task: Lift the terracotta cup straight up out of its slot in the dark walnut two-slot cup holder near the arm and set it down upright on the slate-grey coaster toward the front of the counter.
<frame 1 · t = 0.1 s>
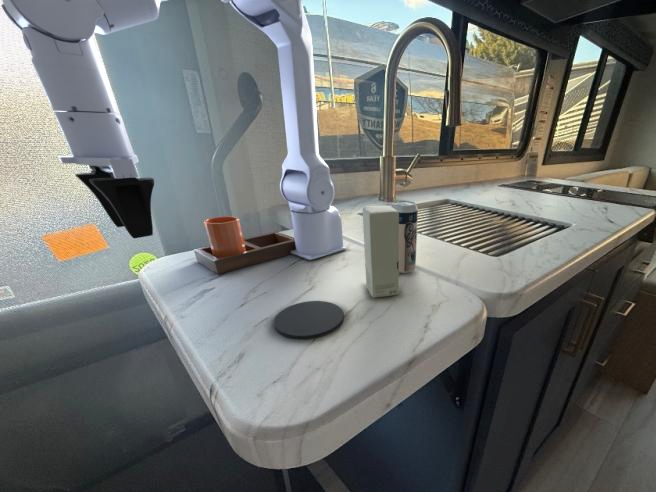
hand: (134, 230, 42), 10 cm above the table, tool pointing down, fingers open, 7 cm apart
box: (381, 291, 50), on the table
cup: (232, 261, 60), resting in cup holder
coaster: (310, 319, 42), on the table
beer can: (402, 270, 58), on the table
cup holder: (252, 256, 63), on the table
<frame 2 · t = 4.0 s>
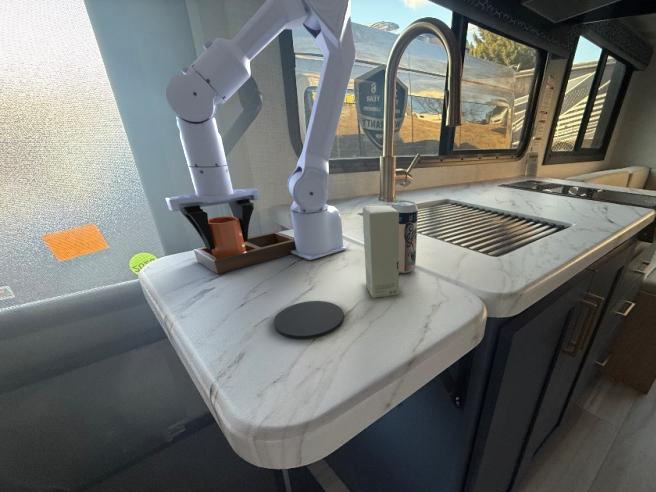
hand: (227, 244, 59), 3 cm above the table, tool pointing down, fingers closed on cup, 5 cm apart
cup: (232, 261, 60), resting in cup holder, touching gripper
everything else where it was.
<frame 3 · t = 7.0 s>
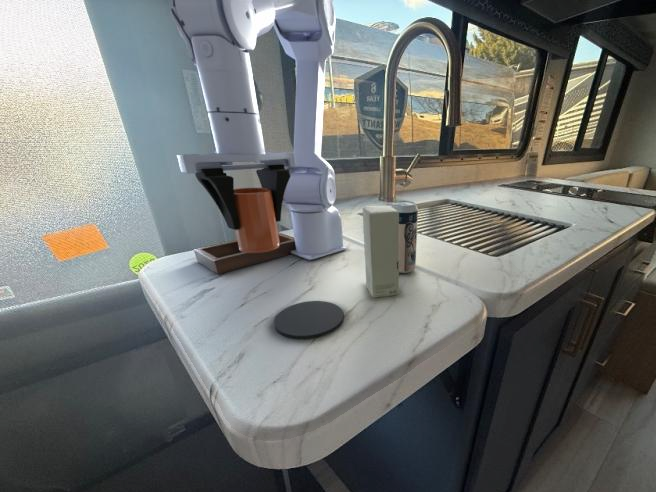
hand: (255, 224, 45), 10 cm above the table, tool pointing down, fingers closed on cup, 5 cm apart
cup: (259, 246, 46), point 7 cm above the table, touching gripper
everything else where it was.
when the fingers open (4 cm above the table, at t = 10.1 s): cup stays where it is, resting on coaster.
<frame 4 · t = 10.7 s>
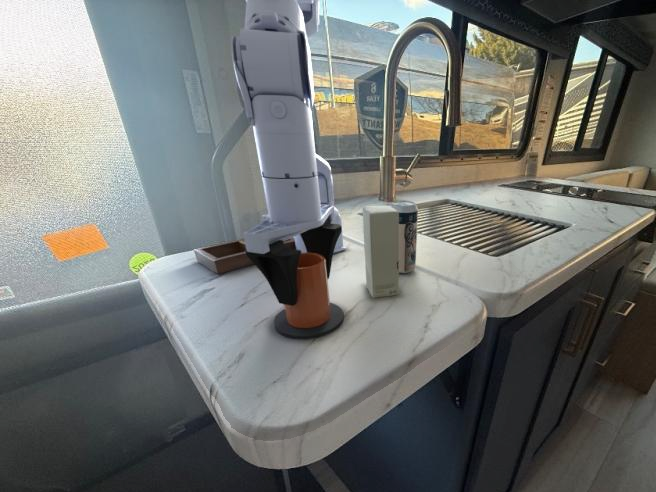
hand: (305, 289, 40), 4 cm above the table, tool pointing down, fingers open, 7 cm apart
cup: (309, 316, 42), resting on coaster
everything else where it was.
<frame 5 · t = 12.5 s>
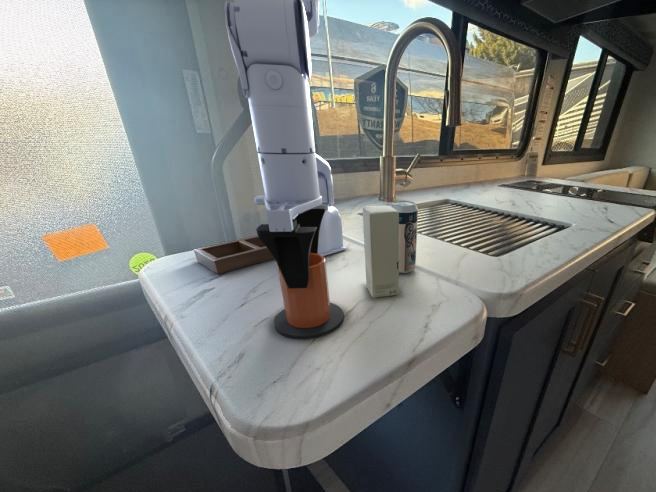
hand: (303, 273, 39), 7 cm above the table, tool pointing down, fingers open, 7 cm apart
nothing on the table moved.
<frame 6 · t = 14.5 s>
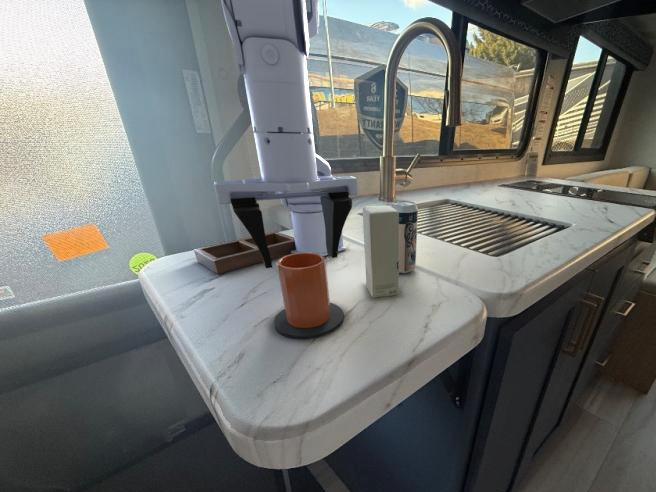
hand: (301, 260, 38), 8 cm above the table, tool pointing down, fingers open, 7 cm apart
nothing on the table moved.
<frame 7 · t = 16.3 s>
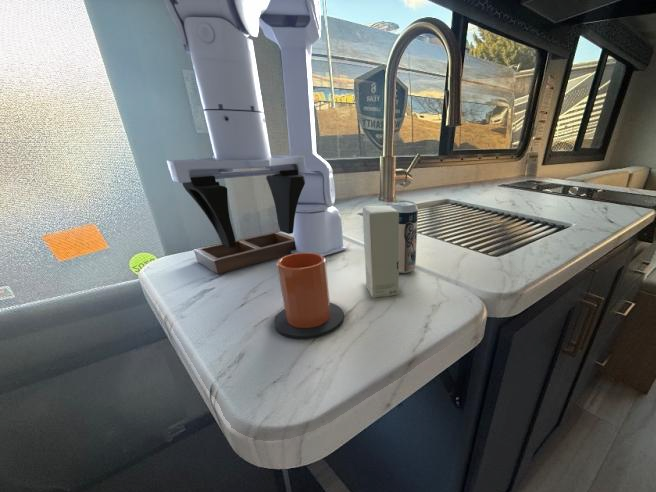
hand: (259, 238, 39), 10 cm above the table, tool pointing down, fingers open, 7 cm apart
nothing on the table moved.
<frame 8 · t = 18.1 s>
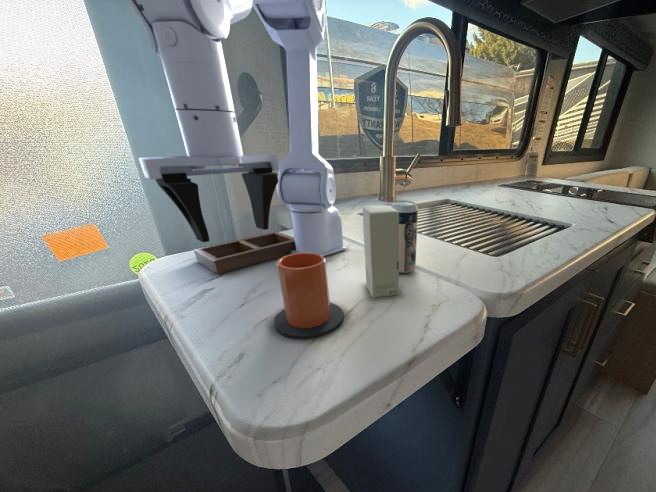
hand: (234, 233, 41), 10 cm above the table, tool pointing down, fingers open, 7 cm apart
nothing on the table moved.
at the end: cup 0.1 cm off-centre on the coaster, point 0.5 cm above the coaster's base; cup tilted 0°; cup touching coaster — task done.
